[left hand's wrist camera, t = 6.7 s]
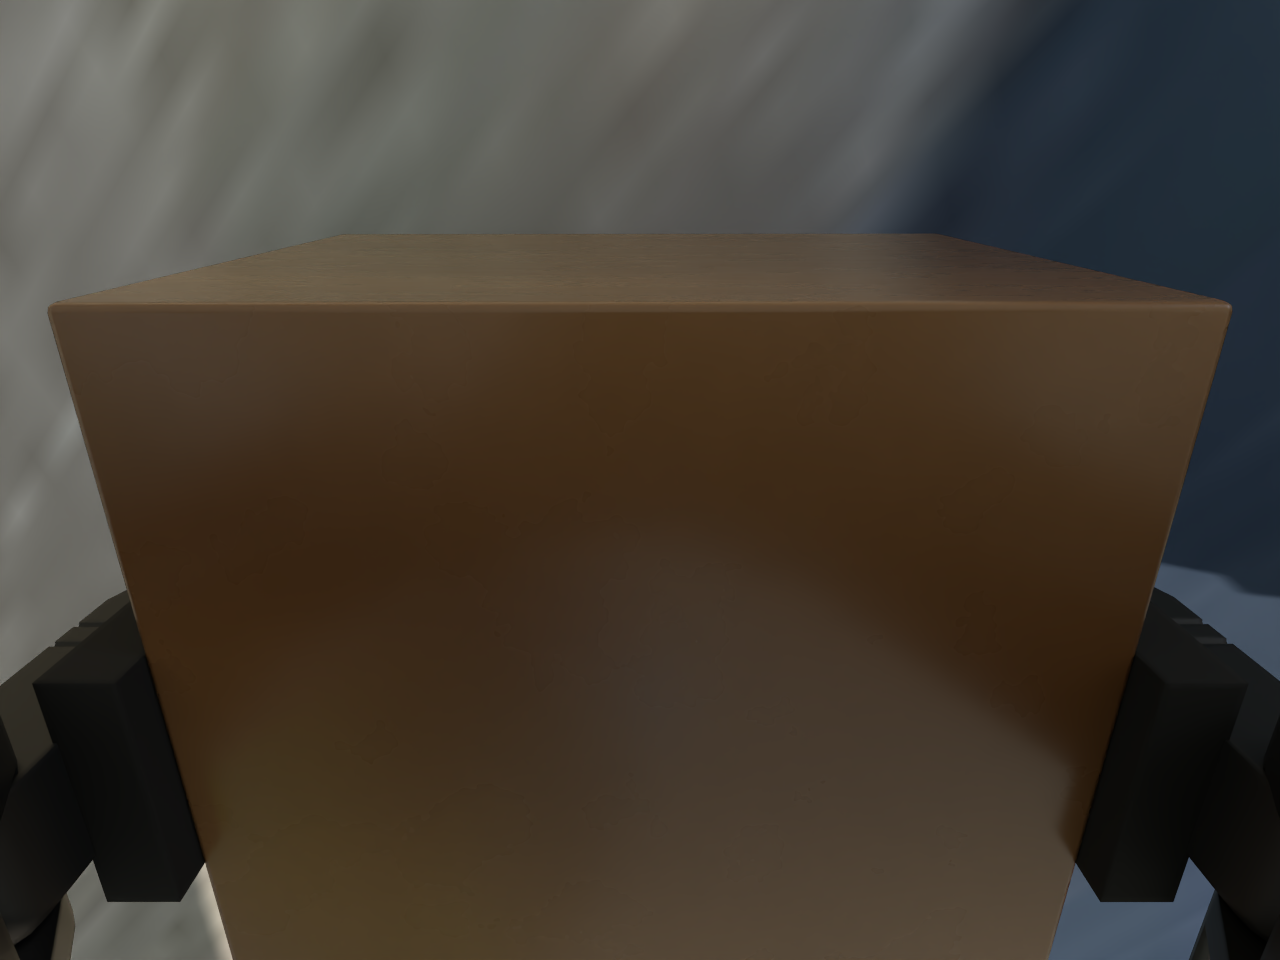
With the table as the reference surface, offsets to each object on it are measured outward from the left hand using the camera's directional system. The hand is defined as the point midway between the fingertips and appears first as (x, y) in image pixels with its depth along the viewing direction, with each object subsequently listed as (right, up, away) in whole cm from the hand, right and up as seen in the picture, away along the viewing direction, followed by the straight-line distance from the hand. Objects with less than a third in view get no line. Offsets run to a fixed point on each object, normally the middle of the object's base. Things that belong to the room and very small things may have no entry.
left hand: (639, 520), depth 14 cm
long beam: (0, -29, +12) cm, 32 cm away
